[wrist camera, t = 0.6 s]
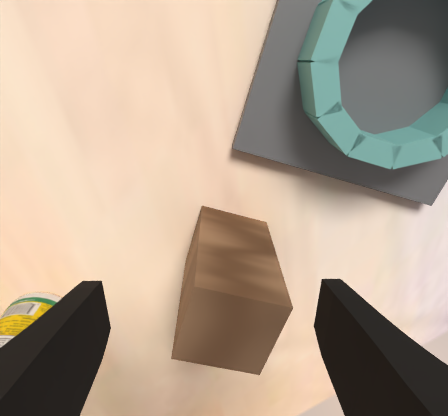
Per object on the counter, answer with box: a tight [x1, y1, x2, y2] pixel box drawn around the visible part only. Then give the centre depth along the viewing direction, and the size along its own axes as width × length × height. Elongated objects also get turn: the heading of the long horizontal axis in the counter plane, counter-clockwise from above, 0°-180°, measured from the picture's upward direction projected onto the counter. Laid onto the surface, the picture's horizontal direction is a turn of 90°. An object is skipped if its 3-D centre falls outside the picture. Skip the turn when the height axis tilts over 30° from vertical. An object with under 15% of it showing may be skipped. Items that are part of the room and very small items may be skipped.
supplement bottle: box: [0, 292, 62, 348], centre depth 20 cm, size 5×5×10 cm
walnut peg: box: [171, 206, 293, 375], centre depth 18 cm, size 4×4×8 cm
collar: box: [232, 0, 448, 206], centre depth 16 cm, size 13×13×3 cm
